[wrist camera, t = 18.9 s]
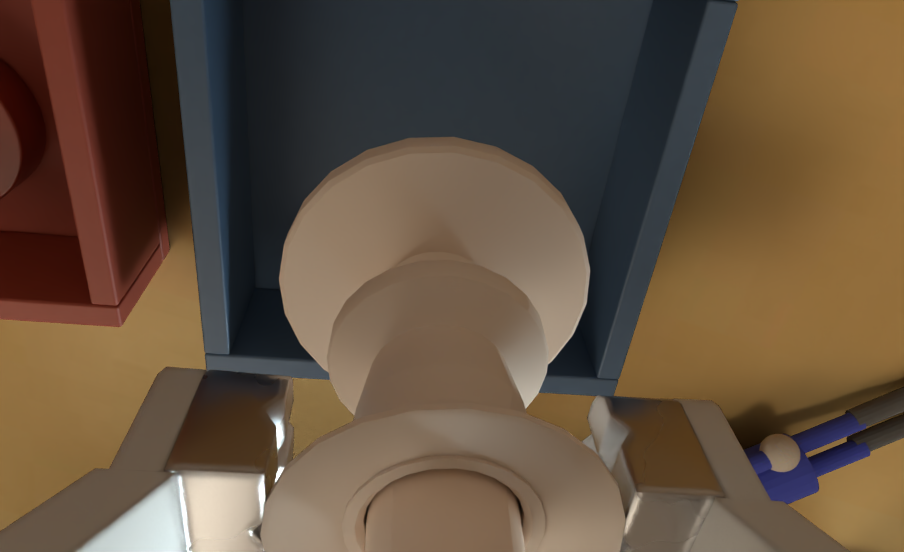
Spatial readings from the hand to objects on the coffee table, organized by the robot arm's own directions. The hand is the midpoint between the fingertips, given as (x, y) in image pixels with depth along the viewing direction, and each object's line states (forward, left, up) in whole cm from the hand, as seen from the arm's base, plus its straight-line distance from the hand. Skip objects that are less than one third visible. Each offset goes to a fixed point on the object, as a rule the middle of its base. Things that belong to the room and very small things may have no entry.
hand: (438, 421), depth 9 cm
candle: (0, 0, -4) cm, 4 cm away
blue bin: (0, 0, -10) cm, 10 cm away
